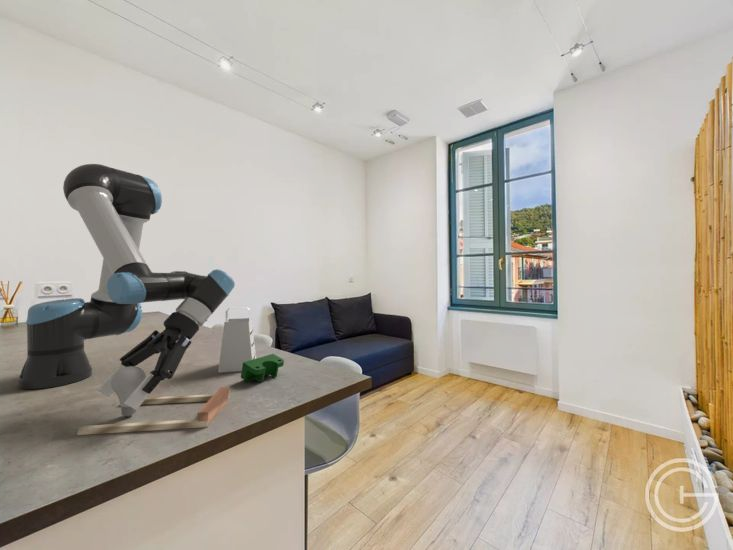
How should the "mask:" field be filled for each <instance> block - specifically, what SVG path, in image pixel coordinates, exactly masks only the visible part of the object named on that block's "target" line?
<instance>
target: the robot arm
mask: <svg viewBox="0 0 733 550" xmlns="http://www.w3.org/2000/svg"><path fill="white" fill-rule="evenodd" d="M62 187H63V194H64V198H65V199H66V201H67V203H68V205H69V206H70V208H72V209H73V210H75V211H77V212H78V214H79V215H80V218H81V219H82V221H83V223H84V224H85V226H86V229H87V231H88V232H89V233H90V236H91V238H92V239H93V241H94V244H95V245H96V247H97V249H98V251H99V253H100V254H101V256H102V258H103V259H102V265H101V271H100V272H101V273H100V278H99V285H98V289H97V290H96V291H95V292H92V293H91V294H90V295H91V296H90V301H88V302H87V301H85V300H84V299H83V298H79V297H78V298H77V297H76V298H65V299H64V298H63V299H56V300H55V299H54V300H49V301H44V302H40V303H36V304H33V305H32V306H30V307H29V308H28V310H27V319H26V321H25V324H26V331H27V332H26V338H27V340H26V342H27V346H26V347H27V355H26V356H27V358H26V360H25V362H24V365H23V367H22V369H21V373H20V375H19V376H18V379H17V387H18V388H19V389H21V390H41V389H47V388H54V387H60V386H64V385H70V384H72V383H73V384H74V383H76V382H79V381H83V380H85V379H87V378H89V377H90V376H92V374H93V366H92V365H91V363H90V360H89V357H88V356H87V354H86V351H85V340H91V339H97V338H105V337H110V336H119V335H122V334H125V333H131V332H132V331H134V330H135V329H136V328H137V327H138V326H139V324H140V323H141V321H142V317H143V309H142V304H143V303H152V302H154V303H155V302H165V301H167V302H168V301H178V300H179V301H180V300H183V301H182V302H181V303H180V304H179V305H178V306H177V307H176V308H175V311H174V312H171V314H170V315H169V316H168V317H167V318H165V320H164V321H163V322H162V323H163V326H164V327H165V328H164V330H163V331H162V332H159V331H158V330H157V329H156V330H154V331H152V332H151V333H150V335H148V336H147V337H146V338H145V339H143V340H142V341H141V342H140V343H138V344H137V345H136V346H135V347H133V348H131V350H129V351H128V352H127V353H125V354H123V356H121V357H120V358H119V361H120V362H121V363H120V365H119V366H118V367H117V369H115V371H113V372H112V374H111V375H109V377H108V378H107V379H106V380H105V381H104V382H103V383H102V384H101V385H100V386H99V387H98V388H97V389H96V391H97V392H99V393H101V394H103V395H105V396H107V397H110V396H111V395H112V394H113V393H114V391H113V389H112V387H111V380H112V378H113V376H114V375H115V373H116V372H117V371H119V370H120V369H122V368H125V367H128V366H135V367H137V366H138V365H139V364H141V363H143V362H144V361H146V360H148V359H149V358H150V357H152V356H154V355H157V354H159V356H158V359H157V362H156V364H155V366H154V369H153V370H151V371H150V372H149V374H148V375H146V378H145V379H144V380H143V382H142V383H141V384H140V385H139V386H138V387H137V388H136V390H135V391H134V392H133V393H132V394H131V395H130V397H129V398H128V399H127V400H126V401H125V402H124V404H126V405H128V406H130V407H132V408H134V409H136V411H137V409H139V408H140V406H141V404H142V403H143V401H144V400H145V399H146V398H147V397H148V396H149V395H151V393H152V392H153V391H154V390H155V389H156V387H157V386H158V385H159V384H160V383H161V381H164V380H166V379H168V380H171V379H172V378H173V377H174V374H175V373H176V371H177V369H178V367H179V365H180V363H181V360H183V357H184V355H185V353H186V351H187V349H188V348H189V347H190V345H191V344H192V341H191V340H192V338H193V337H194V336H195V335H196V333H197V332H198V331H199V330H200V327H202V326H203V325H204V324H205V323H206V322H207V321H208V320H209V318H210V317H211V315H213V314H214V312H215V311H216V310H217V309H218V308H219V307H220V305H221V304H222V303H223V302H224V300H225V299H227V297H229V296H230V294H231V292H232V291H233V289H234V288H235V286H236V284H235V280H234V279H233V277H231V275H230V274H229V273H227V272H226V271H223V270H222V269H212V271H211V272H210V273H208V274H207V275H200V274H196V273H191V272H188V271H182V270H181V271H180V270H173V271H171V272H152V270H151V269H150V267H149V265H148V264H147V262H146V260H145V259H144V257H143V255H142V253H141V252H140V246H141V239H142V234H143V229H144V224H145V223H147V222H149V221H150V219H151V215H155V214H156V213H158V212H159V211H160V210H161V207H162V204H163V203H162V202H163V199H162V193H161V189H160V188H159V185H158V184H157V183H156V182H155V181H154V180H153V179H151V178H149V177H145V176H142V175H140V174H136V173H132V172H129V171H125V170H121V169H117V168H113V167H109V166H108V165H104V164H100V163H99V164H98V163H88V164H81V165H79V166H77V167H75V168H73V169H72V170H71V171H69V173H68V174H66V176H65V179H64V181H63V186H62ZM141 303H142V304H141Z"/></svg>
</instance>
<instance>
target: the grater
mask: <svg viewBox="0 0 733 550" xmlns="http://www.w3.org/2000/svg"><path fill="white" fill-rule="evenodd" d="M230 309H247V310H248V311H249V313H248V314H249V316H248V318H244V317H243V318H229V310H230ZM251 314H252V310H251V308H250V307H249V306H230V307H229V308H228V309H227V310H225V322H224V323H223V331H222V337H221V347H220V355H219V363H218V370H217V373H230V372H231V373H232V372H242V366H243V362H246V361H250V360H253V359H257V353H256V345H255V335H254V326H253V321H252V320H253V319H252V316H251Z"/></svg>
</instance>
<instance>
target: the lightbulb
mask: <svg viewBox="0 0 733 550" xmlns="http://www.w3.org/2000/svg"><path fill="white" fill-rule="evenodd" d="M146 377H147V375H146V372H145V370H144V369H142V368H141V367H138V366H128V367H125V368H122V369H120V370H119V371H117V372H116V373H115V375H114V376H113V378H112V380H111V387H112V389H113V393H115V395H116V396H117V398H118V401H119V406H120V407H121V409H120V410H121V415H122V416H125V417H127V418H128V417H132V416H133V415H134V414H135V413H137V410H136V409H134V408H132V407H130V406H128V405H126V404H124V402H125V401H126V400H127V399H128V398H129V397H130V395H131V394H132V393H133V392H134V391H135V390H136V388H137V387H138V386H139V385H140V384H141V383H142V382H143V380H144V379H145V378H146Z"/></svg>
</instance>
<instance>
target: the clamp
mask: <svg viewBox="0 0 733 550" xmlns="http://www.w3.org/2000/svg"><path fill="white" fill-rule="evenodd" d="M284 364H285V360H284V359H283V358H281V357H280V356H278V355H277V354H275V353H270V354H267V355H264V356H260V357H256V359H253V360H250V361H246V362H243V366H242V371H240V372H241V373H240V378H241V379H242V380H243V381H245V382H247V383H248V382H251V381H254V380H256V381H259V382H260V383H264V381H265V376H271V377H274V378H277V377H278V372H279V368H281V367H284Z"/></svg>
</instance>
